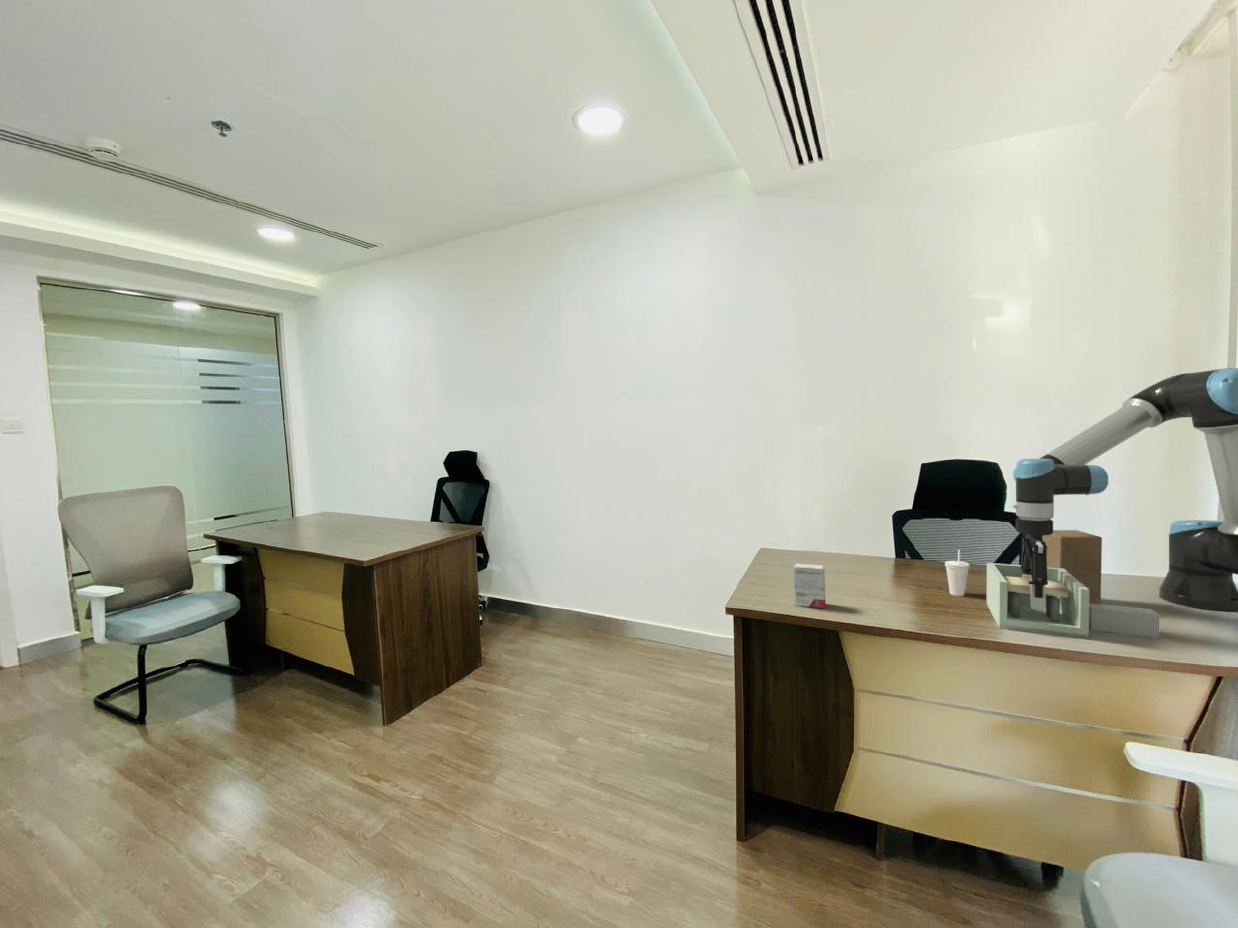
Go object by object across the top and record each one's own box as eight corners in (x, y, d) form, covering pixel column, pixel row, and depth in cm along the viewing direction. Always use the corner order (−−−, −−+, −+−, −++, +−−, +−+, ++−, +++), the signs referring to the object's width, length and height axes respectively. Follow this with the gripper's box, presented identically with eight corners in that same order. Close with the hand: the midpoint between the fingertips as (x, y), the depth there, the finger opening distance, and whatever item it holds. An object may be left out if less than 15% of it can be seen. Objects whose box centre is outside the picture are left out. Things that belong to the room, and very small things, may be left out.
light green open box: (1063, 611, 135) (1063, 568, 135) (1088, 639, 118) (1089, 589, 117) (986, 603, 143) (986, 562, 143) (999, 627, 126) (999, 581, 125)
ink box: (825, 603, 148) (825, 564, 148) (825, 608, 144) (824, 569, 143) (795, 600, 152) (794, 562, 151) (793, 605, 147) (793, 566, 147)
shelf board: (1058, 588, 130) (1058, 580, 130) (1067, 597, 123) (1068, 589, 123) (1001, 582, 136) (1001, 575, 136) (1007, 591, 129) (1007, 583, 129)
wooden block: (1101, 608, 137) (1102, 536, 136) (1059, 607, 139) (1060, 536, 138) (1076, 596, 147) (1077, 529, 146) (1037, 595, 149) (1038, 529, 148)
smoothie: (962, 598, 148) (962, 552, 147) (940, 593, 154) (940, 548, 153) (974, 594, 151) (974, 549, 150) (952, 589, 157) (952, 545, 156)
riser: (1151, 631, 121) (1151, 609, 121) (1158, 637, 117) (1159, 614, 117) (1085, 623, 127) (1086, 602, 126) (1091, 629, 123) (1091, 607, 123)
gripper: (1007, 511, 140) (1007, 590, 141) (1025, 524, 122) (1024, 614, 123) (1042, 512, 136) (1041, 593, 137) (1065, 525, 118) (1063, 619, 119)
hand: (1033, 603), depth 130 cm, fingers closed on shelf board, 8 cm apart
